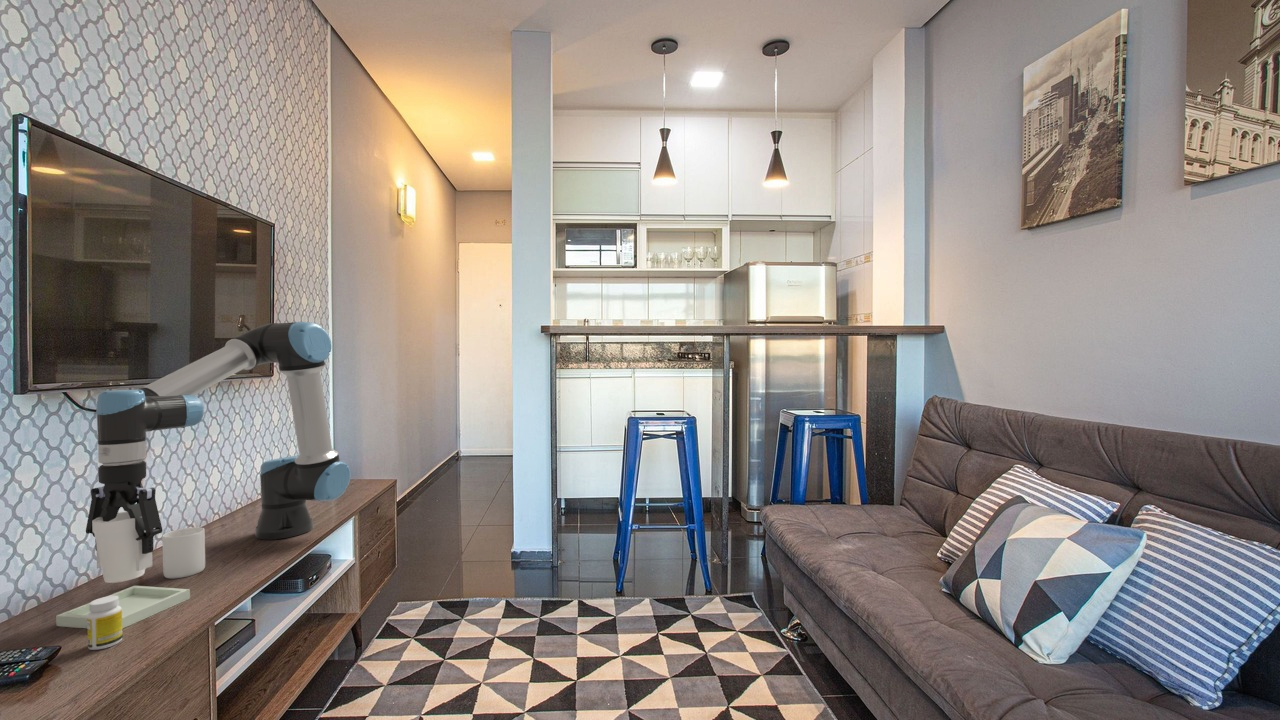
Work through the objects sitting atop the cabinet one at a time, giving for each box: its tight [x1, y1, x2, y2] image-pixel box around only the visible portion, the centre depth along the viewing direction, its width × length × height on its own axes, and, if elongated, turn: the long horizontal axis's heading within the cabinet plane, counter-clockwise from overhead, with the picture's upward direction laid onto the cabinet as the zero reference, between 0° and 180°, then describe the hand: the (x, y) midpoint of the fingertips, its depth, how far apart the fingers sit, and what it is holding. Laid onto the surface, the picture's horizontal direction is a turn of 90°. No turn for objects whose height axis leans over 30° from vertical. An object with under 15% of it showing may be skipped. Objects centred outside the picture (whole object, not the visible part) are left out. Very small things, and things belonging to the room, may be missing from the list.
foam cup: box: [92, 511, 146, 584], centre depth 120 cm, size 10×9×13 cm
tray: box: [55, 585, 191, 630], centre depth 120 cm, size 15×15×2 cm
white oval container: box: [161, 526, 206, 580], centre depth 143 cm, size 12×8×10 cm
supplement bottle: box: [87, 595, 124, 651], centre depth 106 cm, size 5×5×8 cm
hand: (124, 567), depth 120 cm, fingers closed on foam cup, 9 cm apart
